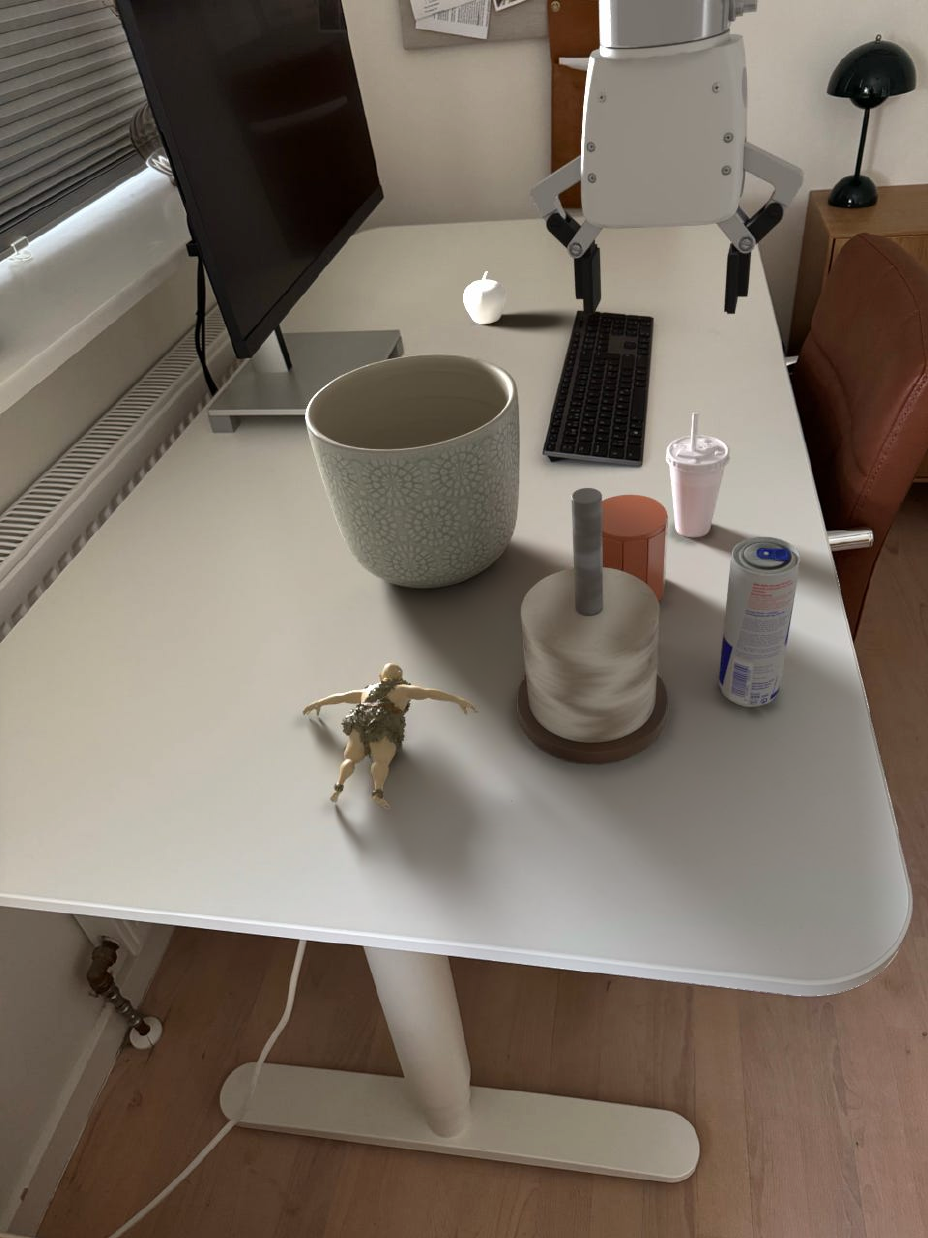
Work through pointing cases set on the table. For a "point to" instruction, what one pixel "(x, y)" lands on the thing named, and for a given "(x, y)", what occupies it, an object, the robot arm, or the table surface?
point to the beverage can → (757, 619)
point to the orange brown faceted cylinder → (636, 538)
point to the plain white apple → (485, 300)
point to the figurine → (378, 723)
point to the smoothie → (696, 479)
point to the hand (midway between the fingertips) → (660, 307)
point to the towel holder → (591, 654)
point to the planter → (421, 465)
